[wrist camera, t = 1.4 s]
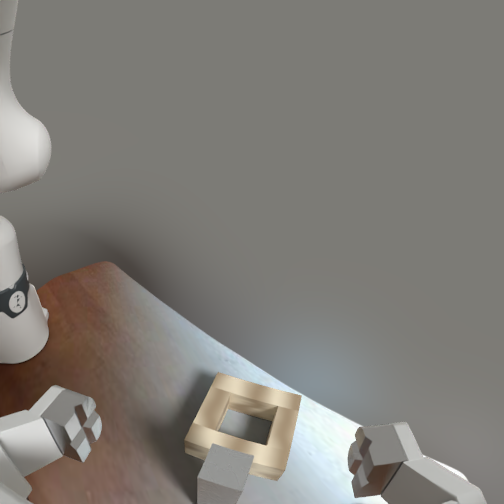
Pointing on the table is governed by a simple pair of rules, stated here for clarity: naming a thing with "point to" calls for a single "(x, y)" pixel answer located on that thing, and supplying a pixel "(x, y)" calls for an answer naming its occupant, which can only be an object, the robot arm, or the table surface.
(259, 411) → the well block
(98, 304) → the table surface
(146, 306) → the table surface
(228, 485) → the steel post
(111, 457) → the table surface
